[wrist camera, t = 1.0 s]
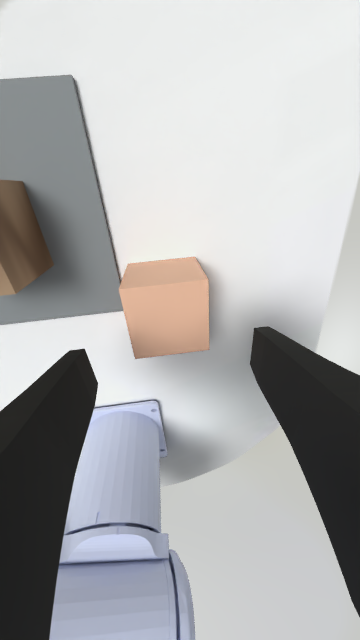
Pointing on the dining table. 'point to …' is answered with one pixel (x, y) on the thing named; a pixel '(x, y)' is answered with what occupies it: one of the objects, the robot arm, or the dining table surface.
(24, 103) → the mat
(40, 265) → the walnut block
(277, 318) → the dining table surface
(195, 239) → the dining table surface
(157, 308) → the terracotta block
